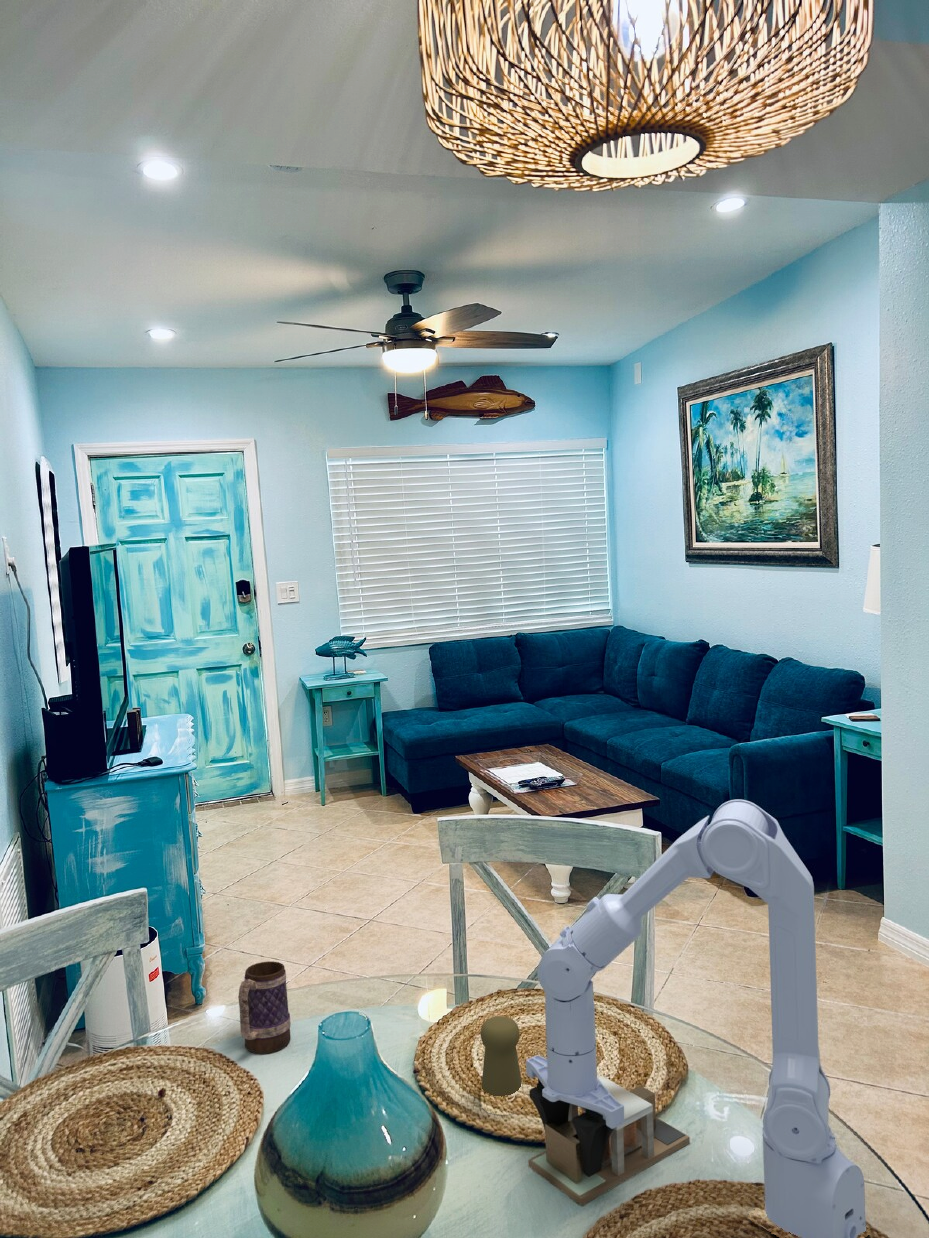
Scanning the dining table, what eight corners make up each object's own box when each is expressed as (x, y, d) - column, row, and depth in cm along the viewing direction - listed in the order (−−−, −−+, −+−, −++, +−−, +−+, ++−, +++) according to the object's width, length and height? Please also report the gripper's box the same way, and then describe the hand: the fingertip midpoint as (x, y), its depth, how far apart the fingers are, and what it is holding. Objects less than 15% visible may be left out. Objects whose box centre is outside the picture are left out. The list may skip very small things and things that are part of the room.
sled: (664, 1133, 108) (663, 1096, 108) (577, 1183, 100) (575, 1142, 100) (633, 1115, 112) (632, 1079, 112) (546, 1160, 104) (544, 1121, 104)
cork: (508, 1120, 114) (505, 1035, 114) (470, 1105, 118) (467, 1023, 118) (534, 1098, 119) (531, 1017, 119) (497, 1085, 123) (494, 1006, 122)
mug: (260, 1029, 142) (257, 955, 141) (299, 1035, 139) (296, 959, 139) (222, 1061, 132) (219, 981, 132) (263, 1068, 130) (260, 986, 129)
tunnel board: (689, 1142, 108) (687, 1087, 108) (581, 1206, 97) (579, 1144, 97) (634, 1110, 115) (633, 1058, 115) (528, 1166, 105) (526, 1108, 105)
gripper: (505, 1031, 106) (509, 1143, 107) (590, 1081, 95) (594, 1207, 95) (549, 1013, 111) (553, 1121, 111) (636, 1059, 99) (640, 1180, 99)
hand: (575, 1159), depth 103 cm, fingers closed on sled, 5 cm apart
